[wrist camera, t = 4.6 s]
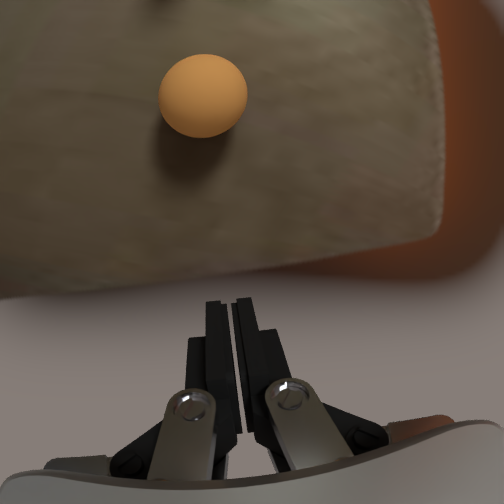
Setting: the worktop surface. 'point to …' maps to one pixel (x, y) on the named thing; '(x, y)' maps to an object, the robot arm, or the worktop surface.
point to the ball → (202, 96)
